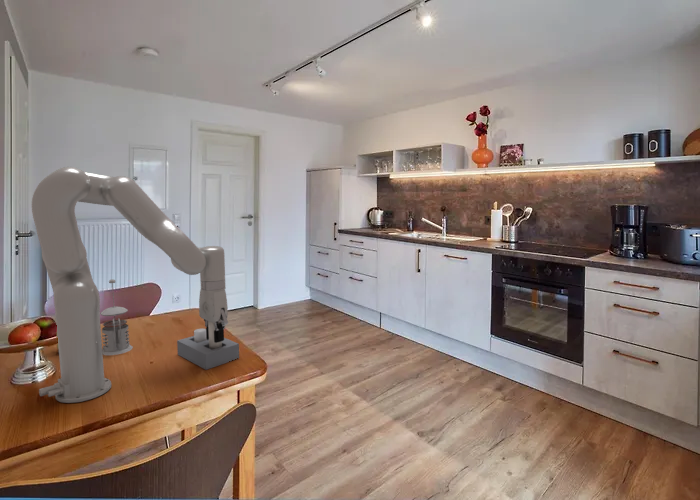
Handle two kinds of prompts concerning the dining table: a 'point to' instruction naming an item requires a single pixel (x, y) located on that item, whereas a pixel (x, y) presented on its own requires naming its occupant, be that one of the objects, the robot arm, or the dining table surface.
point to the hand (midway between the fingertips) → (215, 339)
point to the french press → (115, 331)
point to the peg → (211, 336)
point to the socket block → (206, 350)
